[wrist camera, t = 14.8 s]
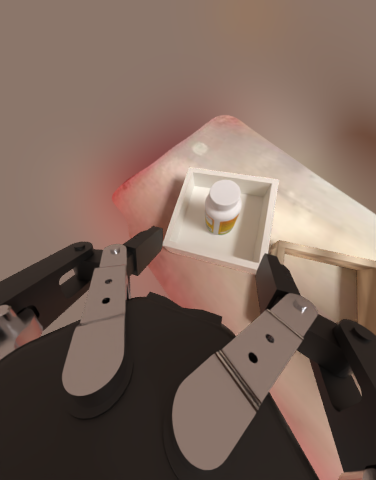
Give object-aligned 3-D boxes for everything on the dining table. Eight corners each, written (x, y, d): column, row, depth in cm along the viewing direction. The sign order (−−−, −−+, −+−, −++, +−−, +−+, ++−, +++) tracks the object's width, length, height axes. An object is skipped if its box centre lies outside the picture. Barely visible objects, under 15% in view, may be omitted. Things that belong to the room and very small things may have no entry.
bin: (267, 196, 30) (279, 179, 25) (254, 274, 26) (265, 271, 21) (191, 184, 33) (189, 167, 28) (169, 251, 29) (161, 245, 24)
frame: (364, 265, 24) (385, 263, 21) (366, 364, 20) (392, 377, 17) (271, 245, 27) (279, 240, 24) (259, 328, 23) (266, 334, 20)
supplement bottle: (237, 214, 28) (251, 179, 19) (229, 239, 27) (240, 215, 18) (210, 207, 30) (211, 171, 20) (201, 231, 28) (198, 203, 19)
